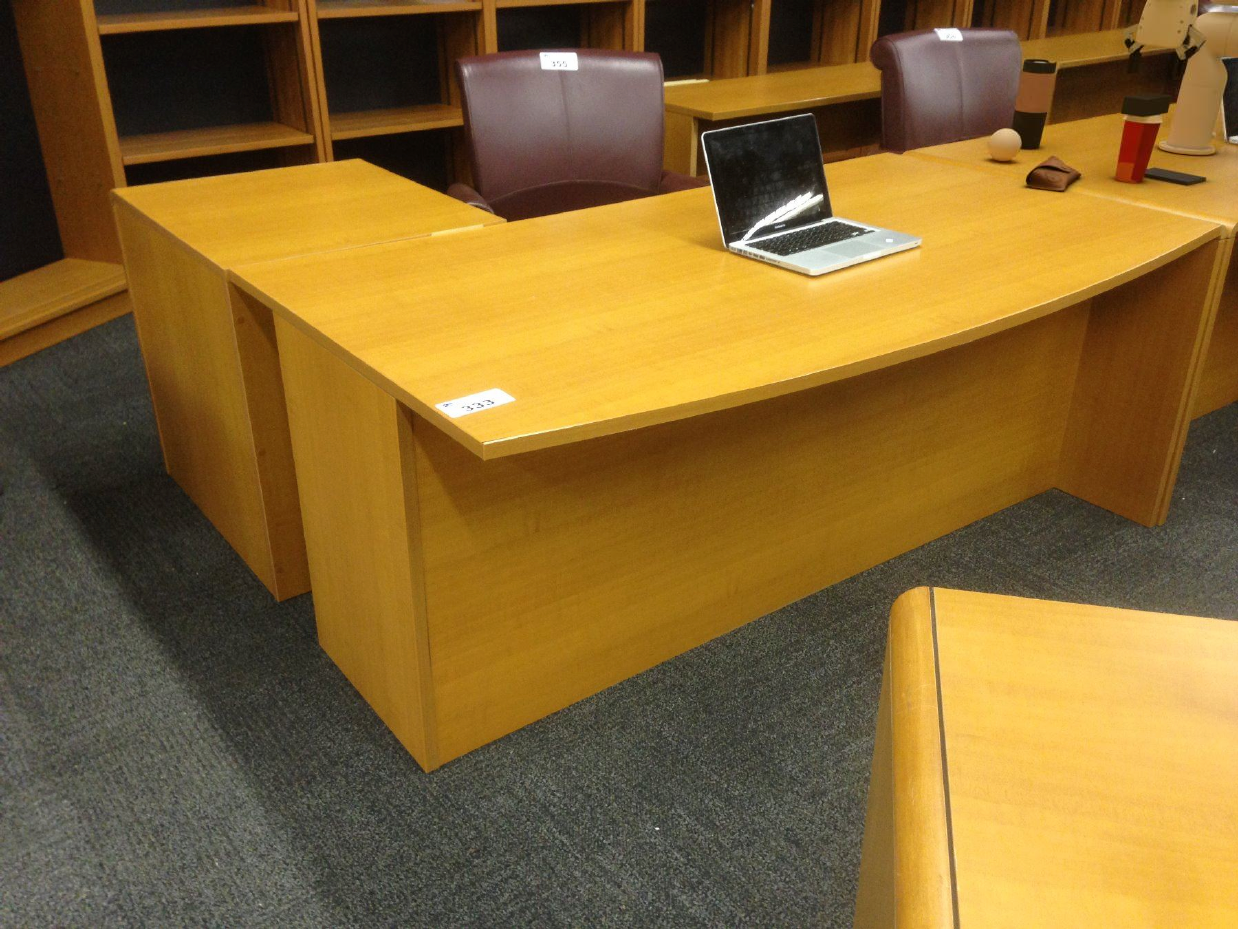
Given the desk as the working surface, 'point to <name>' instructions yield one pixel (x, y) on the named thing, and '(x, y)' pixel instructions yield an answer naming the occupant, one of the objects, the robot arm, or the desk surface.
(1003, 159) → the cream ovoid piece
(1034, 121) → the travel mug
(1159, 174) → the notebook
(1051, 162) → the sunglasses case
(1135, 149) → the paper cup
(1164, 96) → the black block
